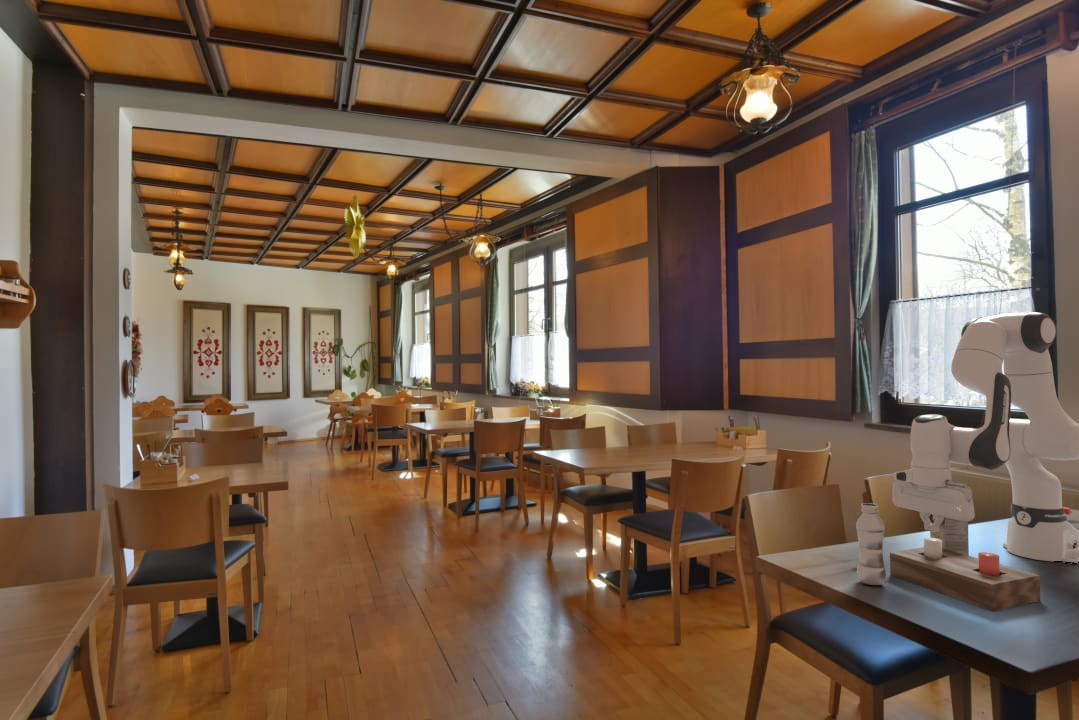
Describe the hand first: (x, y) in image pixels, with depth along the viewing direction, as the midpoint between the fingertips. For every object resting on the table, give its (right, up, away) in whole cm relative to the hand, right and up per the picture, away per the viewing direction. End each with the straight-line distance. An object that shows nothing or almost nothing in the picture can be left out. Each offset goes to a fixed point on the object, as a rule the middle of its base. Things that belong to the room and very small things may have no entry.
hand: (932, 530), depth 157 cm
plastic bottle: (-18, -13, -3) cm, 22 cm away
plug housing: (+3, -12, -7) cm, 14 cm away
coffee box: (+11, -13, +10) cm, 20 cm away
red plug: (+5, -8, -13) cm, 17 cm away
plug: (0, -9, 0) cm, 9 cm away
